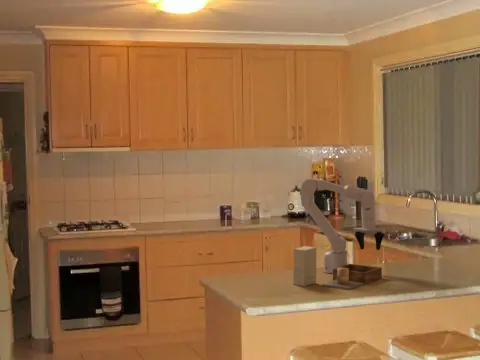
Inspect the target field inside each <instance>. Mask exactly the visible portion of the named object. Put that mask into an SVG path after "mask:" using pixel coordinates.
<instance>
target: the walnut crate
mask: <svg viewBox="0 0 480 360" xmlns="http://www.w3.org/2000/svg"><path fill="white" fill-rule="evenodd" d="M338 268H349V281H353V282H361V283H363V285H367V284H371V283H373V282H375V280H376V281H379V280H380V279H382V273H383V272H382V269H383V268H382V267H381V266H370V265H365V264H364V265H361V264H354V263H347V265H344V266H341V267H338ZM336 279H337V268H335V269H333V273H332V281H333V280H336Z"/></svg>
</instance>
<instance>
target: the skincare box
mask: <svg viewBox="0 0 480 360" xmlns="http://www.w3.org/2000/svg"><path fill="white" fill-rule="evenodd" d="M292 268H293V274H292V275H293V280H292V281H293V285H296V286H301V287H306V286H310V285H312V284H317V247H314V246H307V245H303V246H299V247H297V248H293V267H292Z"/></svg>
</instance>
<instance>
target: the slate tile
mask: <svg viewBox="0 0 480 360" xmlns="http://www.w3.org/2000/svg"><path fill="white" fill-rule="evenodd" d="M363 285H364V284H363V283H361V282H353V281H349V284H347V285H340V284H337V279H336V280H333V279H332V280H331V281H328V282H325V283H323V284H322V287H325V288H332V289H339V290H345V291H346V290H347V291H350V290H351V291H352V290H353V289H355V288H358V287H361V286H363Z"/></svg>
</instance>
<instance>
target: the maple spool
mask: <svg viewBox="0 0 480 360" xmlns="http://www.w3.org/2000/svg"><path fill="white" fill-rule="evenodd" d="M337 284H340V285H347V284H349V268H337Z"/></svg>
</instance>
